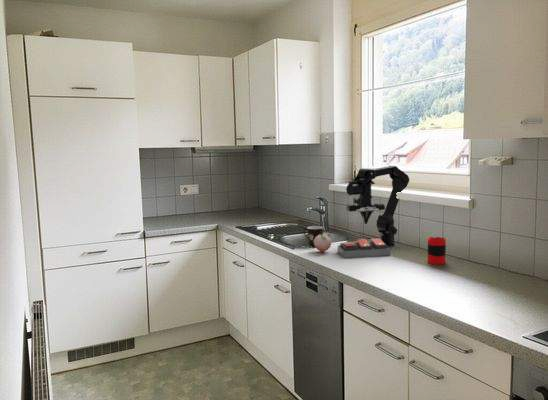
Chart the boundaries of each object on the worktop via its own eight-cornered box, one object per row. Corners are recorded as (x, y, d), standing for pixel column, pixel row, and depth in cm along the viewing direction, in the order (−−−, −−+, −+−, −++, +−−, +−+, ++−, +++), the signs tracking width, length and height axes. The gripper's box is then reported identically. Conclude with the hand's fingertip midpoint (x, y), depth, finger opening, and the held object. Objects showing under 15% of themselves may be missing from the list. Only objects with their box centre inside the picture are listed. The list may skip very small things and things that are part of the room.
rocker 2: (379, 240, 235) (379, 238, 235) (385, 246, 228) (385, 244, 227) (371, 241, 235) (371, 238, 234) (376, 247, 227) (376, 244, 227)
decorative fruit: (334, 253, 234) (334, 233, 232) (320, 255, 230) (320, 235, 229) (325, 249, 242) (324, 230, 241) (311, 251, 239) (311, 232, 237)
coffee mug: (326, 246, 248) (326, 228, 247) (311, 248, 245) (311, 229, 244) (316, 242, 259) (316, 224, 257) (302, 244, 256) (302, 226, 254)
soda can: (430, 265, 208) (430, 238, 206) (425, 260, 215) (425, 235, 214) (447, 264, 208) (448, 238, 206) (442, 260, 215) (442, 234, 213)
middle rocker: (365, 240, 234) (365, 238, 234) (370, 248, 227) (370, 246, 226) (356, 241, 234) (356, 239, 233) (361, 248, 226) (361, 246, 226)
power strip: (381, 249, 238) (381, 240, 237) (390, 255, 226) (390, 245, 226) (337, 252, 235) (337, 242, 235) (344, 258, 223) (344, 248, 223)
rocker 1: (350, 245, 233) (350, 242, 233) (355, 245, 225) (355, 243, 226) (342, 245, 233) (341, 242, 233) (346, 246, 225) (346, 243, 225)
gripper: (377, 191, 246) (377, 220, 248) (343, 192, 244) (343, 222, 246) (385, 193, 235) (385, 224, 238) (349, 195, 233) (349, 225, 235)
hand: (365, 223), depth 239 cm, fingers closed
